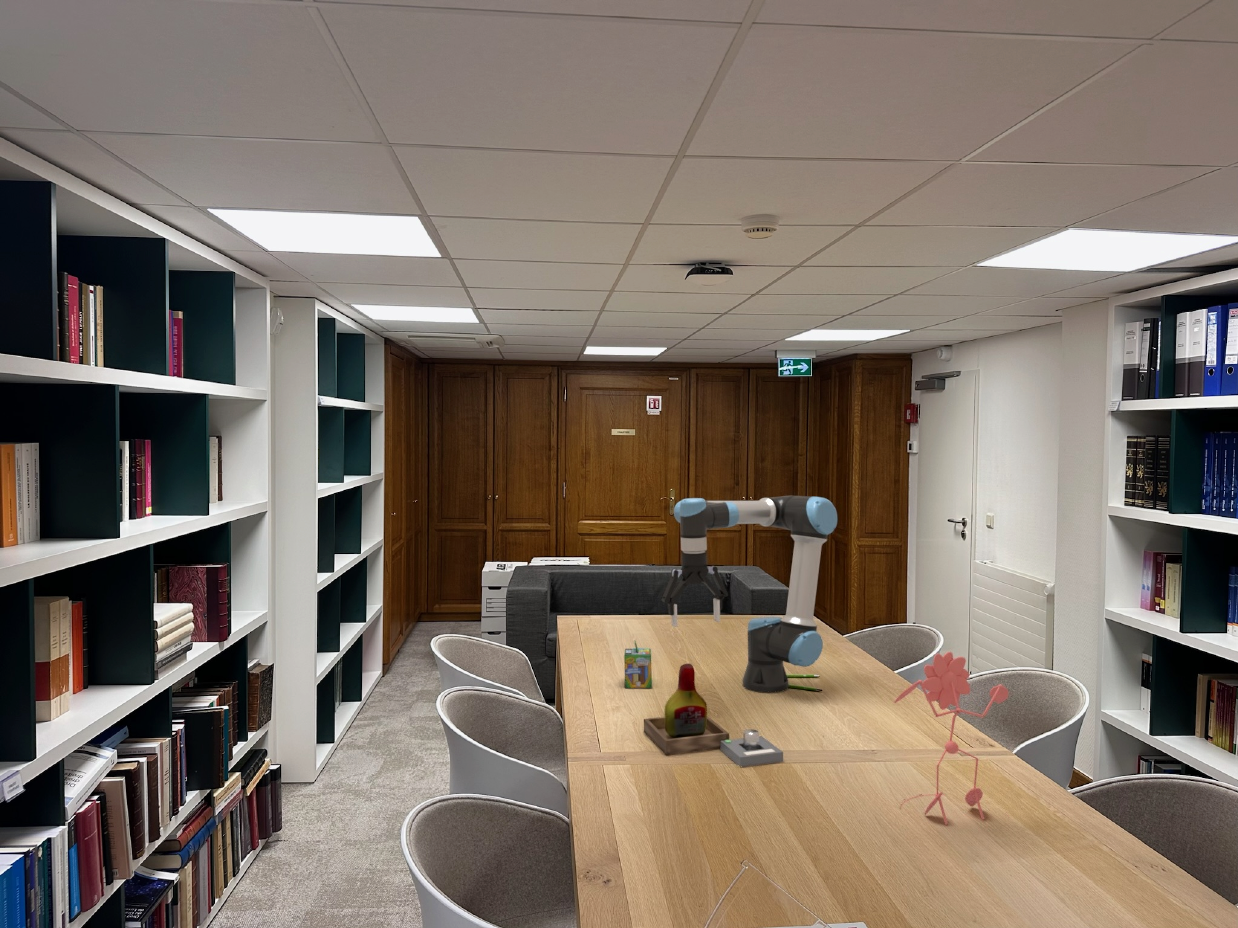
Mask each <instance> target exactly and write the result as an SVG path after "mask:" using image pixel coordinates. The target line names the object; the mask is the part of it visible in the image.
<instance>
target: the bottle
mask: <svg viewBox="0 0 1238 928" xmlns="http://www.w3.org/2000/svg"><path fill="white" fill-rule="evenodd" d="M678 670H679V672H678V683H677V688H676V691H675V692H674V693H673V694H671V696H670V697H669V698H668V699H667V700H666V703H665V705H664V712H663V713H664V716H663V717H665V731H666V732H667V734H668V735H670V736H671V737H673V738H683V737H692V736H700V735H703V734H704V732H705V729H706V722H707V716H708V704H707V701H706V700H705V699H704V698H703V696H702V695H701V694H700V693H699V692H698V691H697V689H696V684H695V678H696V677H695V673H696V672H695V668H694V665H693V664H692V663H683V664H681V665H680V667H679V669H678Z"/></svg>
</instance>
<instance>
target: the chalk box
mask: <svg viewBox="0 0 1238 928" xmlns="http://www.w3.org/2000/svg"><path fill="white" fill-rule="evenodd" d="M634 645H635V648H624V655H623V658H624V659H623V660H624V689H652V688H653V684H652V683H653V680H652V679H653V678H652V675H653V674H652V650H651V649H652V648H641V647H638V645H637V642H636V640H634Z"/></svg>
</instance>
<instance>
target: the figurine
mask: <svg viewBox="0 0 1238 928" xmlns="http://www.w3.org/2000/svg"><path fill="white" fill-rule="evenodd" d="M966 663H967V659H966V658H965V657H964V656H957V657H955V658H954V654H953V652H951V651H946V652H945V654H943V656H942V654H940V653H939V652H938V653H935V654H934V657H933V659H932V665H931V664H926V665H924V667H923V671H924V675H925V677H926V679H924V680H922V679H918V681H917V680H916V682H914V683H913V684H910V686H908V687H907V688H906V689H904V690H903V691H902V693H900V694H899V695H898V697H896V699H894V701H893V703H894V704H896V703H898V702H900V701H901V700H902V699H904V698H906V697H907V696H908V695H909V694H910V693H912V692H913V691H914V690H915V689H916V688H917V687H918V686H919V685H920V687H921V689H922V692H923V694H924V696H925V698H926V701H927V702H928V704H929V706H930V707H931V710H932V712H933V714H934V716H935V718H939V717H942V716H946V715H949V714H953V715H952V721H951V727H950V736H949V740H948V741H947V742H946V743H945V745H944V752H943V753H942V754H941V757H940V758H939V761H938V762H937V764H936V793H935V794H933V793H932V794H929V796H934V798H933V799H932V801H931V802H930V803H929V804H928V806H927V807H926V809H925V811H924V813H923V814H924V815H927V814H928V812H929V813H930V810H931V809H933V807H934V806H935V805H936V804H937V803H939V807H940V810H941V814H942V817H943V821H944V825H948V824H949V823H948V819H947V817H946V812H945V809H944V806H943V802H942V799H941V797H942V796H944V794H943V791H941V792H939V767H940V764H941V762H942V760H943V758H944V757H945V755H946V753H948V754H950V755H954V754H957V753H958V751H959V752H961V753H963V754H965V755H967V756H969V757H971V758H973V759H975V769H974V770H975V771H974V782H973V788H972V789H970V790H969V791H967V793H966V794H965V797H964V800H965V803H966V804H967V805H968V806H969V807H974V806H975V805H976V804H977V807H978V808H977V809H978V811H979V814H980V817H981V820H985V817H984V813H983V810H982V807H981V802H980V801H981V800H982V798H983V791H982V789H981V788H979V787H977V777H978V767H979V757H977V756H974V755H972V754H970V753H968V752H966V751H964V750H962V749H960V748H959V745H958V743H957V742H956V741H953V734H954V729H955V722H956V718H957V716H958V714H961V713H964V714H967V715H971V716H975V717H979V718H982V719H983V718H984V717H985V716H986V715H987V713H988V711H989V710H990V708H991V706H992V705H993V703H994V702H995V703H997V704H998V705H999V704H1001V703H1003V702H1004V701H1006V700H1007V699H1008V697H1009V690H1008V689H1007V687H1006V686H1003V685H1002V684H998V685H995V686H993V687H992V688H991V689H990V690H989V697H990V699H991V700H990V701H989V703H988V705H987V706H986V708H985V710H984V711H983V713H982V714H980V713H977V712H973V711H969V710H965V709H964V710H963V709H961V708H960V704H959V703H960V696H961V695H965V696H966V695H969V694H970V693H971V687H970V684H969V682H968V679H969V678H970V673H969V671H968V670H967V669H966V668H965V666H966ZM927 691H928V692H927ZM937 701H938V706H939V709H940V710H941V711H943V710H944V711H943V712H940V713H938V712H937V711H936V708H935V706H934V705H933V703H932V702H937ZM950 705H951V706H953V707H956V708H955V709H951V710H948V711H945V710H946V709H947V708H949V706H950ZM924 796H925V797H926V796H927V794H922V793H921V794H920V795H916V796H913V797H910V798H908V799H906V798H905V799H906V800H905V799H903V801H902V804H900V807H899V808H901V806H902V805H903V804H904V803H905V802H907V801H909V800H911V799H915V798H917V797H918V798H919V797H924ZM1004 813H1005V815H1007V816H1008V813H1007V812H1004Z"/></svg>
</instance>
